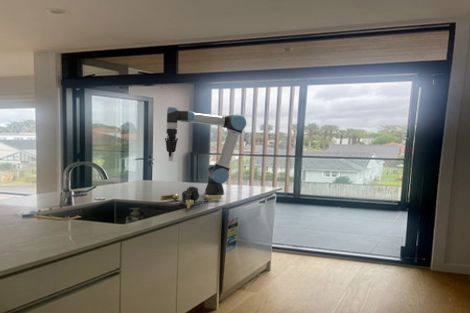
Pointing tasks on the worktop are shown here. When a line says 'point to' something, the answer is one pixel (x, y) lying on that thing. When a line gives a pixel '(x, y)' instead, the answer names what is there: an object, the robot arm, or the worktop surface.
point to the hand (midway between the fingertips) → (170, 161)
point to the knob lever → (170, 197)
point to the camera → (190, 194)
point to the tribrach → (198, 202)
